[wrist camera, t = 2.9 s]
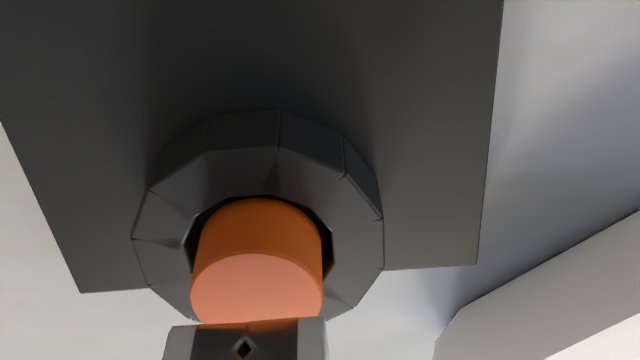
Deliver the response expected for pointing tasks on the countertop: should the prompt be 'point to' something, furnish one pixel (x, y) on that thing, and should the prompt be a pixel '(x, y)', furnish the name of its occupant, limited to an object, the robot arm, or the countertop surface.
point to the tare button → (257, 264)
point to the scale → (252, 129)
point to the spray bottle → (559, 307)
